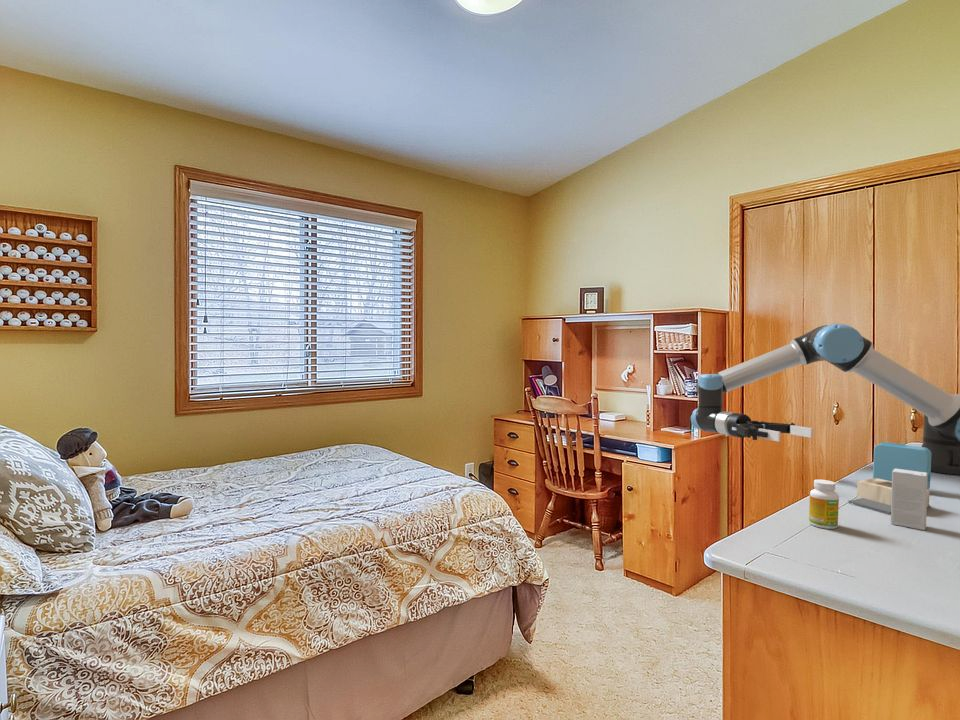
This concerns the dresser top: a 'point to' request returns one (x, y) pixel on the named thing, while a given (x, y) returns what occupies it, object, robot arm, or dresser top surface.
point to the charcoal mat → (872, 505)
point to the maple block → (878, 490)
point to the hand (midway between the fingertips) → (796, 434)
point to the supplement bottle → (824, 505)
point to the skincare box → (909, 498)
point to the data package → (900, 460)
